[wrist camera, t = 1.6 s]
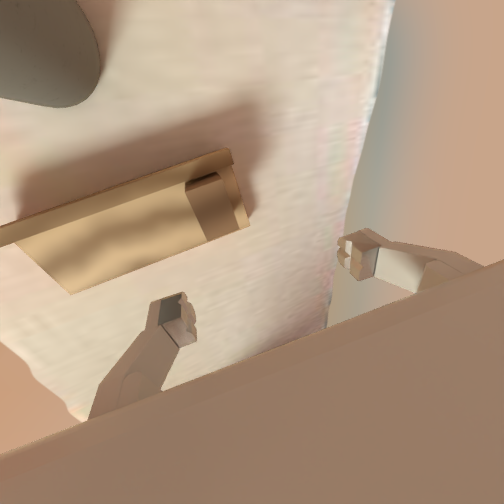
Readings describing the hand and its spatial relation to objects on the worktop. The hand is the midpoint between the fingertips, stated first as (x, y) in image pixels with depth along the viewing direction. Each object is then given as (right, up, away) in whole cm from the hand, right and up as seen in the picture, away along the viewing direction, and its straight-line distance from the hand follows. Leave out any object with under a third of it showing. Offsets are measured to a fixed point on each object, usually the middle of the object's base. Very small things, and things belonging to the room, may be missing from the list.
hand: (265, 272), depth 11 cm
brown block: (-6, +8, +16) cm, 19 cm away
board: (-15, +5, +17) cm, 23 cm away
